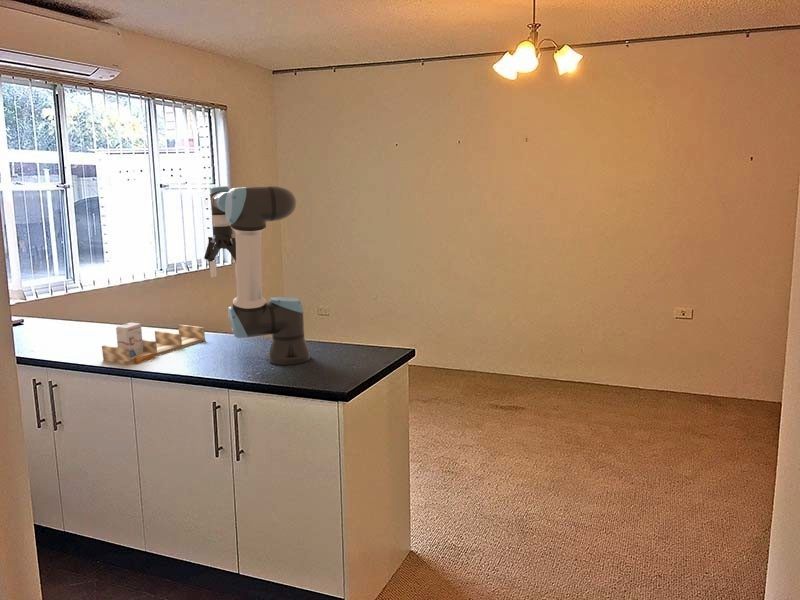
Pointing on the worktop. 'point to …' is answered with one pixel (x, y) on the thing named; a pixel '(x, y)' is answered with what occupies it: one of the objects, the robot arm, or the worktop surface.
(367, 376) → the worktop surface
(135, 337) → the ink box
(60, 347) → the worktop surface
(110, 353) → the rack
